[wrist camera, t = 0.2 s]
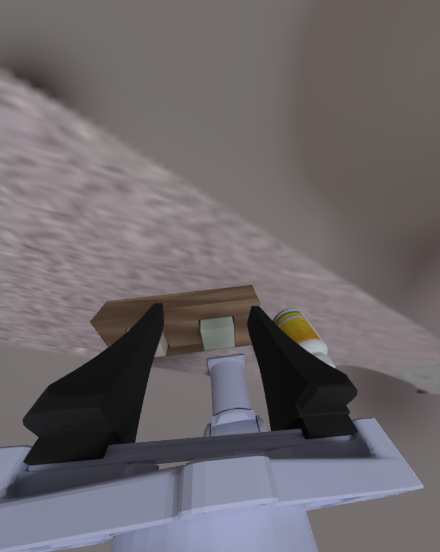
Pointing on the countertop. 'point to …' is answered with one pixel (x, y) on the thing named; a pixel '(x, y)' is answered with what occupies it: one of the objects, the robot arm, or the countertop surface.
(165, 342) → the off white key
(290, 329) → the supplement bottle
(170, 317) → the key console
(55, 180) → the countertop surface
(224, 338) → the sage key
